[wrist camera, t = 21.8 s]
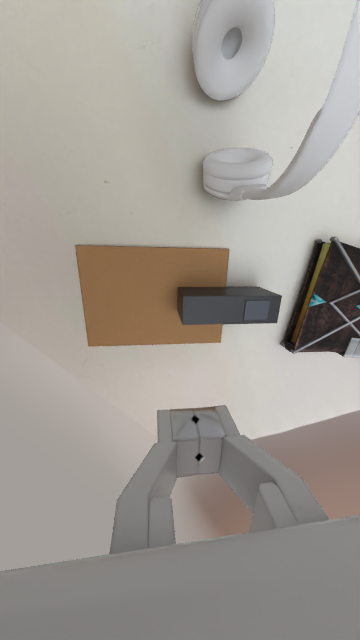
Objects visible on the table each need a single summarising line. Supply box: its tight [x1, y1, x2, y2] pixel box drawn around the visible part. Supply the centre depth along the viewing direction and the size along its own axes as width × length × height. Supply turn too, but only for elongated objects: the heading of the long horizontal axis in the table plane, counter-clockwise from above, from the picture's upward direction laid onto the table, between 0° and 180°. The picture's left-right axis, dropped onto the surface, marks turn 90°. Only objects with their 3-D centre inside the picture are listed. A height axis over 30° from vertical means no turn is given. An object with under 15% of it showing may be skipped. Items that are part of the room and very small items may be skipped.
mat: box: [75, 245, 229, 346], centre depth 30 cm, size 20×14×1 cm
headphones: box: [192, 0, 360, 200], centre depth 15 cm, size 7×18×20 cm, turn 8°
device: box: [177, 287, 282, 325], centre depth 28 cm, size 6×4×12 cm
